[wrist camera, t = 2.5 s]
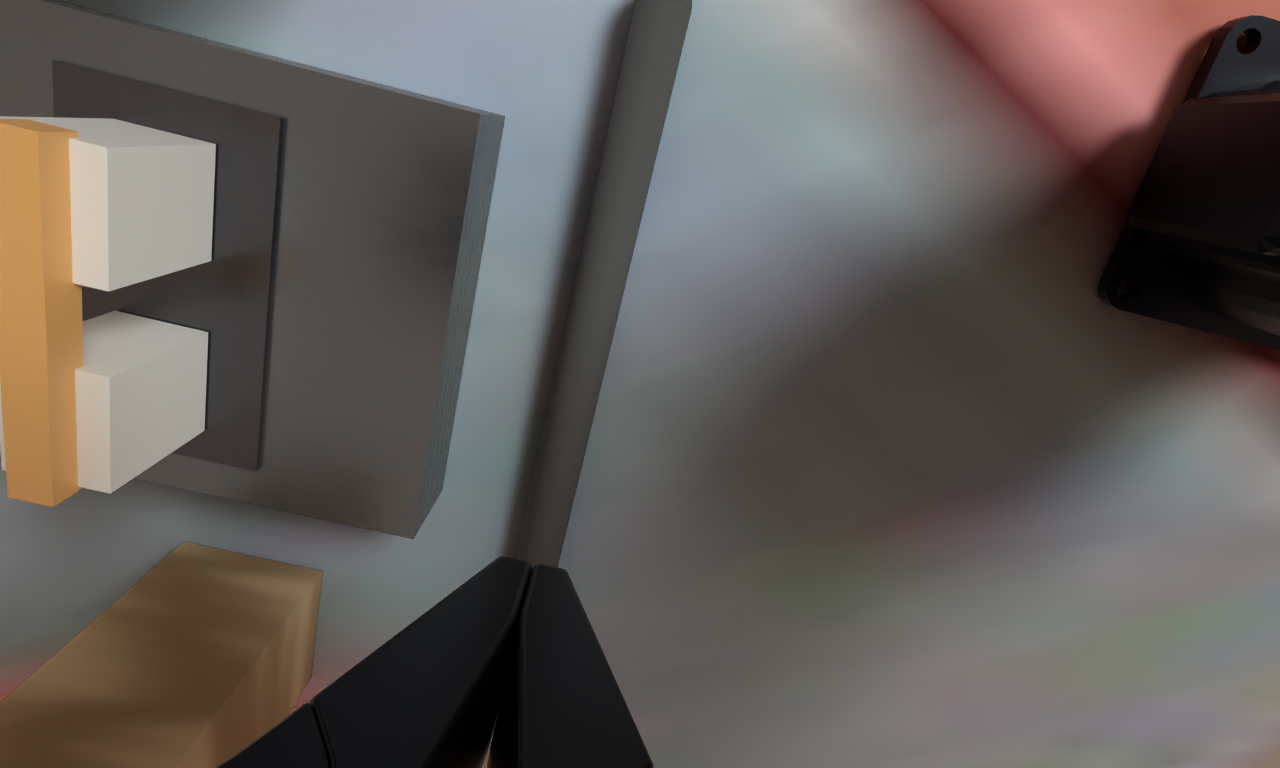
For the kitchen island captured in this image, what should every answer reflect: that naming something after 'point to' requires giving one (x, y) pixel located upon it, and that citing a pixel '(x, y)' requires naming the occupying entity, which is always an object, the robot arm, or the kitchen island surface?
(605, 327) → the dark gray rod
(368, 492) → the breaker panel
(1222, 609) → the kitchen island surface
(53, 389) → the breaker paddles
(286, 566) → the oak post
